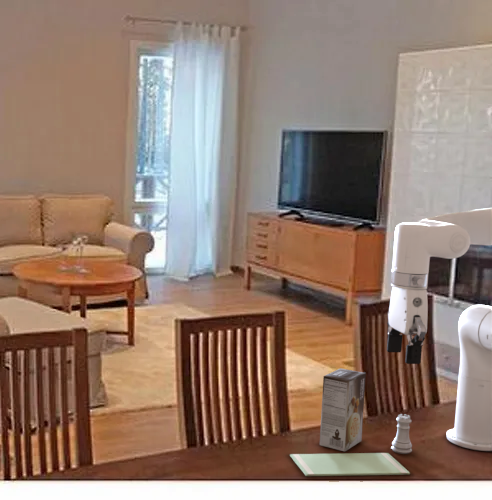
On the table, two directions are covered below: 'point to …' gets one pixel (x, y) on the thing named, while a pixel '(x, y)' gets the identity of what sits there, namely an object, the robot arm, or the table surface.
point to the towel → (348, 464)
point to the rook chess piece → (402, 436)
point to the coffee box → (342, 409)
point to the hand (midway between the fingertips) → (403, 357)
